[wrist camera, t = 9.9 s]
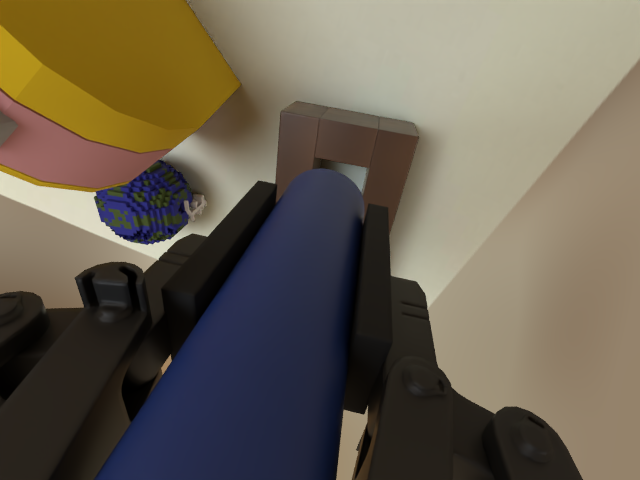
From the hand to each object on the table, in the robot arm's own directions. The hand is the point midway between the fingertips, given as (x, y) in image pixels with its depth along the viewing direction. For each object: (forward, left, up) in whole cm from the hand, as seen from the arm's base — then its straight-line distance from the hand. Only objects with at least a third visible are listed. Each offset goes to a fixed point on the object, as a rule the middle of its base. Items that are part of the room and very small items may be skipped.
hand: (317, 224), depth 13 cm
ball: (+18, +10, -19) cm, 28 cm away
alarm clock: (+17, -3, -19) cm, 26 cm away
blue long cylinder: (0, 0, -2) cm, 2 cm away
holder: (0, +8, -19) cm, 20 cm away
